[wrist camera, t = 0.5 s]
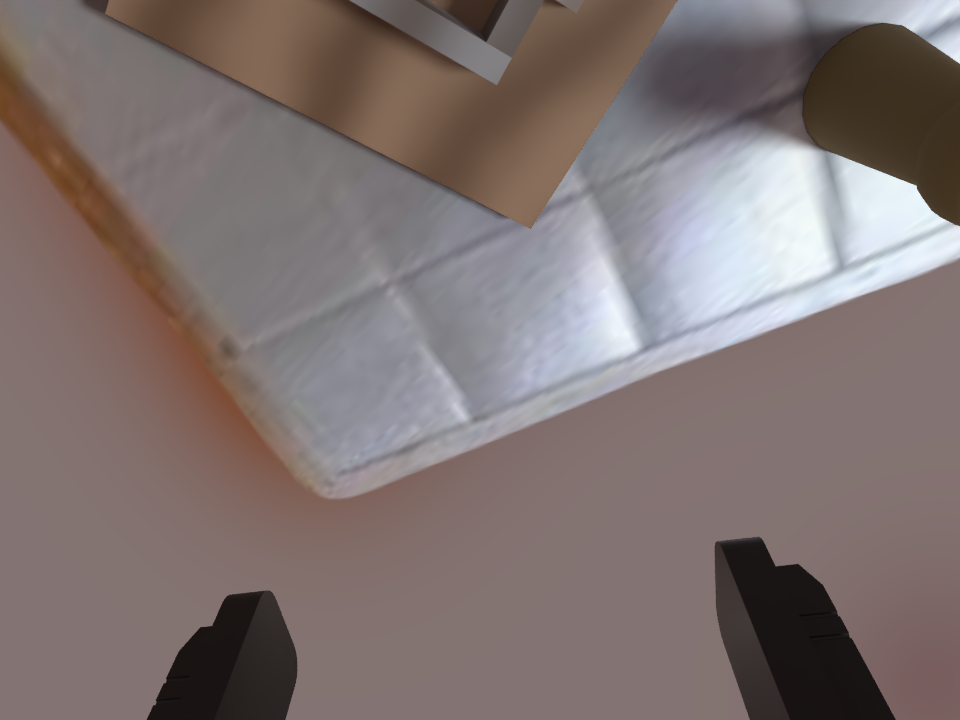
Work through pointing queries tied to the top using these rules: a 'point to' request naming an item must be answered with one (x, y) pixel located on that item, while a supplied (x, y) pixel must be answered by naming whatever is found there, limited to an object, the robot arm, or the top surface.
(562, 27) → the holder
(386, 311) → the top surface
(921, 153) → the cork
